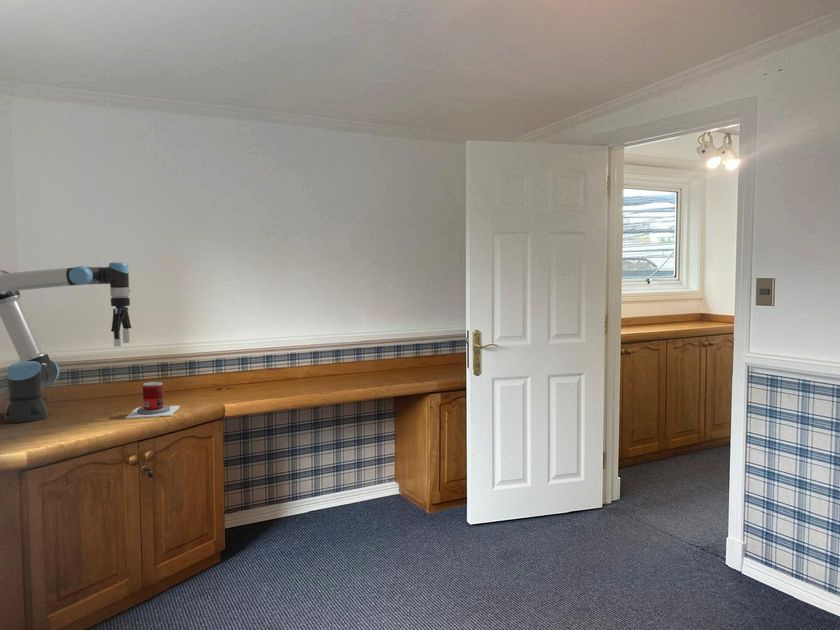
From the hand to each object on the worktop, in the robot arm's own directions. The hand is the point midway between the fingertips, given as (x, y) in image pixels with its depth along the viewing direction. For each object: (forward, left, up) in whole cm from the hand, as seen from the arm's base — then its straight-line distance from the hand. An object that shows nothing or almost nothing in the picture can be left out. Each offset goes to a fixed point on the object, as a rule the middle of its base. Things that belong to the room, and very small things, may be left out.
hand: (122, 344), depth 264 cm
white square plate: (+15, -13, -29) cm, 35 cm away
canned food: (+15, -13, -27) cm, 34 cm away
